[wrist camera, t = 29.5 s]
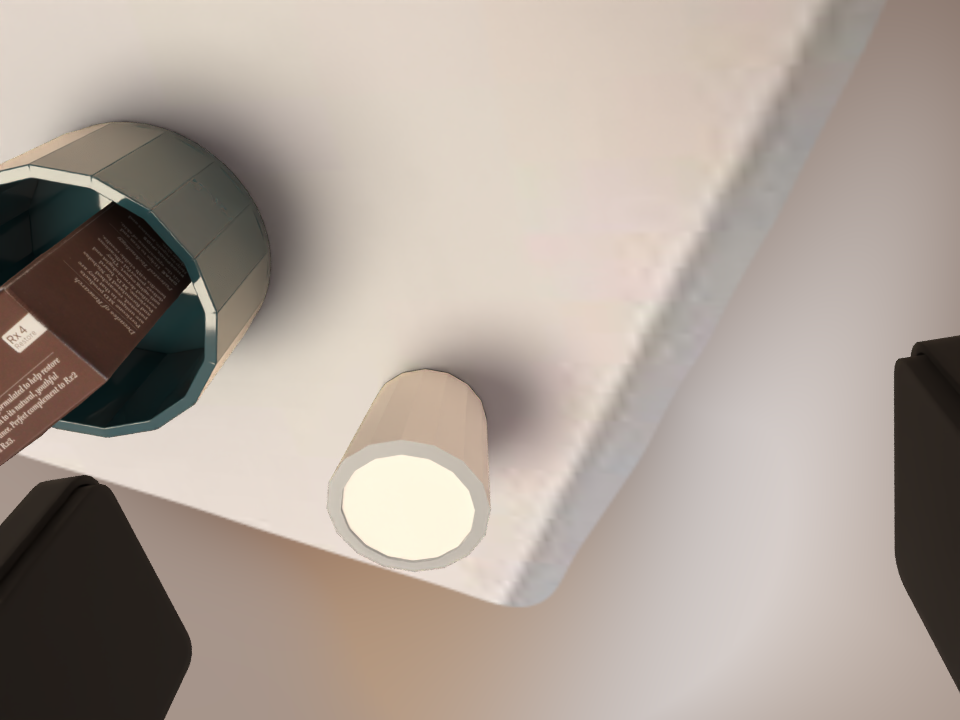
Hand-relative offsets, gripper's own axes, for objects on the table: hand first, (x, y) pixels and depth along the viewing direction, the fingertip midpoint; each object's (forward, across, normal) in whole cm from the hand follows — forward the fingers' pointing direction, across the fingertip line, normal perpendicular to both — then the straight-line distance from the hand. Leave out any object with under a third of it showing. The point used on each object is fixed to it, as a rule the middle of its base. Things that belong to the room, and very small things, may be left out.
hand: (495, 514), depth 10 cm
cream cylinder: (+26, +8, +14) cm, 31 cm away
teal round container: (+26, +18, +3) cm, 32 cm away
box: (+26, +18, +3) cm, 31 cm away
